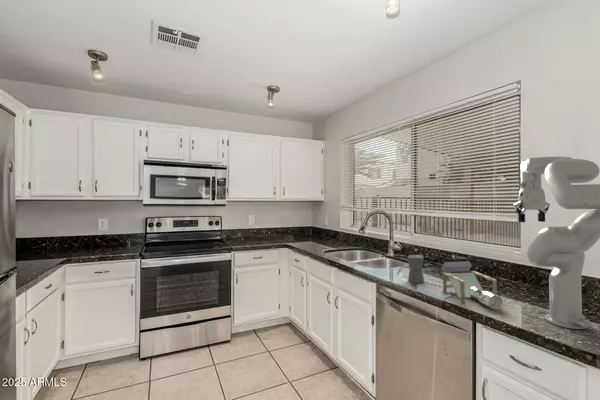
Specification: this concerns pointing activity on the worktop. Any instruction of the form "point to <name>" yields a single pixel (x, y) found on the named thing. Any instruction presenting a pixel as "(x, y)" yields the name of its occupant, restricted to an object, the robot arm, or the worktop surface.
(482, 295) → the beer glass
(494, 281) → the trapdoor stand
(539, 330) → the worktop surface
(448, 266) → the trapdoor
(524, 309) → the worktop surface
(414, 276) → the coffeepot
